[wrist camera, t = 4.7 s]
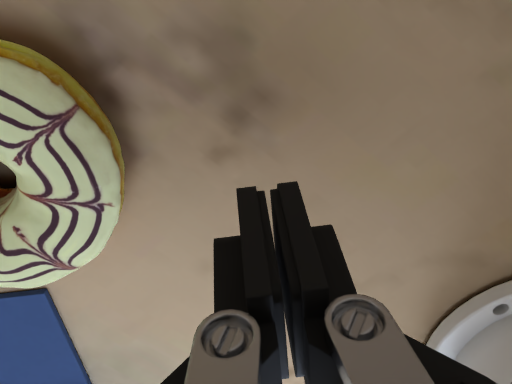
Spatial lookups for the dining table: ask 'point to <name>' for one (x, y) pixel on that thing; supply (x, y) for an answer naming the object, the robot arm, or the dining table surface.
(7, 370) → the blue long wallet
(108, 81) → the dining table surface
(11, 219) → the decorated donut
